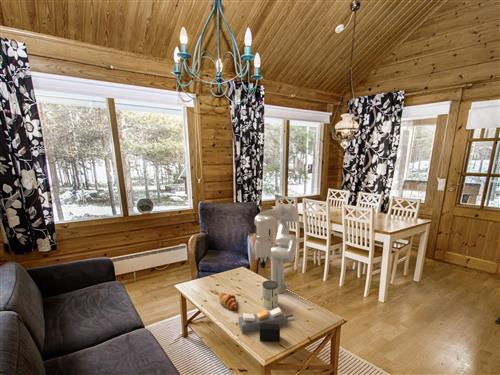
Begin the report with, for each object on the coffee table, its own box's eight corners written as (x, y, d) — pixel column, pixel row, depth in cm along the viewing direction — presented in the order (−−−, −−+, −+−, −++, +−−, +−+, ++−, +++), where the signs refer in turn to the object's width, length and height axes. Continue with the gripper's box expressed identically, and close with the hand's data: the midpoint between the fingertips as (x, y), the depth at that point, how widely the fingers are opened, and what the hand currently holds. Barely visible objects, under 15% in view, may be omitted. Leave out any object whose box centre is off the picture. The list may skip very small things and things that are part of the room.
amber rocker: (266, 311, 142) (265, 309, 141) (268, 315, 138) (268, 313, 137) (256, 316, 140) (256, 313, 140) (259, 320, 136) (258, 317, 136)
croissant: (217, 302, 168) (212, 294, 165) (228, 292, 172) (223, 283, 170) (232, 317, 150) (227, 308, 148) (244, 305, 155) (239, 296, 152)
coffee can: (264, 299, 165) (264, 279, 164) (279, 301, 162) (279, 281, 160) (260, 307, 155) (260, 286, 154) (276, 310, 152) (276, 289, 151)
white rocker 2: (279, 309, 144) (278, 307, 143) (281, 313, 140) (281, 311, 140) (269, 313, 142) (269, 311, 142) (272, 317, 138) (271, 315, 138)
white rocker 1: (252, 316, 139) (253, 314, 139) (254, 321, 136) (255, 318, 136) (242, 316, 138) (243, 313, 138) (244, 320, 134) (245, 317, 134)
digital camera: (279, 334, 131) (279, 322, 130) (280, 342, 125) (280, 329, 125) (259, 334, 131) (259, 322, 131) (259, 341, 126) (259, 328, 125)
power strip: (289, 314, 148) (289, 307, 148) (295, 322, 140) (295, 315, 140) (238, 323, 140) (238, 316, 139) (241, 333, 132) (241, 325, 132)
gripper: (272, 235, 155) (271, 263, 157) (249, 237, 151) (249, 266, 153) (276, 239, 148) (276, 268, 150) (252, 241, 144) (252, 271, 146)
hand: (262, 267), depth 151 cm, fingers closed
